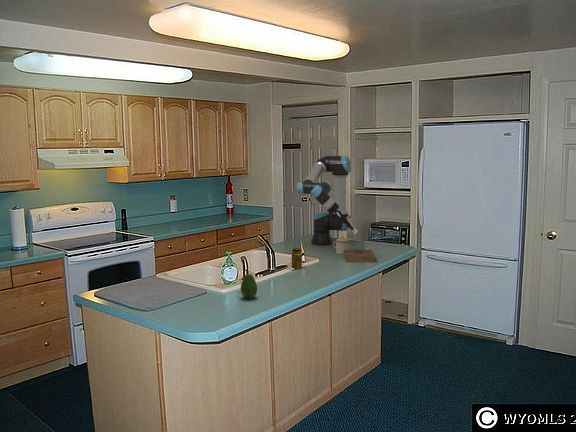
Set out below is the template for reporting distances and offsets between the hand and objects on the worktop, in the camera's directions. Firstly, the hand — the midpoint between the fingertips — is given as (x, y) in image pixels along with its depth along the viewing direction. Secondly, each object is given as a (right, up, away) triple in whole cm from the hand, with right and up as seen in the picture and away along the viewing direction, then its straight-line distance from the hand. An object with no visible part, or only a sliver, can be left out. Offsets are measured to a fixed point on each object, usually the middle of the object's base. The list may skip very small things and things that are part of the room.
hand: (356, 232), depth 328 cm
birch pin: (-4, -4, +1) cm, 6 cm away
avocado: (-62, -30, -78) cm, 104 cm away
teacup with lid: (-8, -15, +23) cm, 28 cm away
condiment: (-39, -21, -21) cm, 49 cm away
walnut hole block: (+2, -18, +4) cm, 18 cm away
